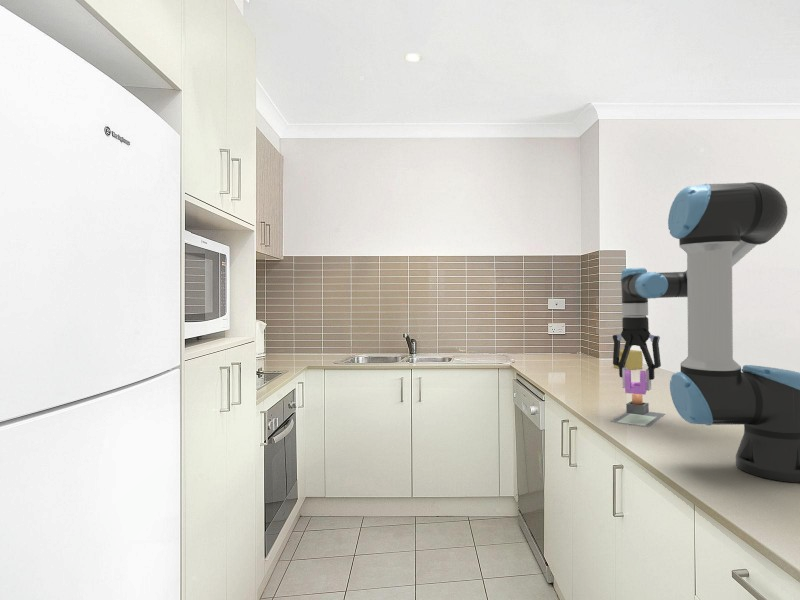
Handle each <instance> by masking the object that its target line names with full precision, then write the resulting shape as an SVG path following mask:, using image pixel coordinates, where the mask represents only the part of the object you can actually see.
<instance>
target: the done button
mask: <svg viewBox="0 0 800 600" xmlns="http://www.w3.org/2000/svg"><path fill="white" fill-rule="evenodd" d="M643 399H644V398H643V394H631V401H632V404H635V405H643V402H644V400H643Z"/></svg>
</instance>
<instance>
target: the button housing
mask: <svg viewBox="0 0 800 600" xmlns="http://www.w3.org/2000/svg"><path fill="white" fill-rule="evenodd" d="M625 405H626V406H625V407H626V412H625V413H632V414H640V415H645V414H646V413H648V412H650V411H649V409H650V408H649V405H650V404H649V402H645V401H643V405H635V404H632V400H631V401H629V402H627V403H626V404H625Z"/></svg>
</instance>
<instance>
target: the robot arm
mask: <svg viewBox="0 0 800 600" xmlns="http://www.w3.org/2000/svg"><path fill="white" fill-rule="evenodd" d="M787 218H788V204H787V202H786V200H785V198H784V195H783V194H782V193H781V192H780V191H779V190H777V189H776V188H775V187H773V186H772V185H770V184H766V183H764V182H763V183H762V182H755V181H753V182H750V181H749V182H733V183H705V184H703V183H702V184H697V185H696V184H695V185H690V186H686V187H684V188H682V189H681V190H680V191H679V192H678V193H677V194H676V196H675V197H674V199H673V201H672V203H671V206H670V209H669V213H668V218H667V226H668V230H669V234H670V235H671V237H672V238H675V239H677V240H678V241H679V243H678V245H679V248H680V249H682V250H683V251H684V252H685V254H686V264H687V265H686V270H685V271H671V272H670V271H669V272H668V271H667V272H656V271H655V272H654V271H652V272H651V271H648V270H647V268H645V267H632V268H623V269H621V274H620V275H621V276H620V282H621V314H622V316H623V317H622V318H621V319H622V320H621V321H622V322H621V323H622V324H621V325H622V326H621V327H622V331H621V333H619V334H614V335H612V340H613V351H612V352H613V354H612V364H613V366H614V365H616V366H618V367H619V368H618V373H619V375H618V376H619V378H622V389H625V370H627V367H624V366H625V363H626V360H627V357H628V354H629V351H630V350H632V347H633V346H636V347H639V348H640V351H642V356H643V358H644V360H645V363H646V365H647V368H646V369H645V371H646V390H647V391H651V390H652V381H653V380H654V379H655V370H656V369H659V368H660V367H661V366H662V363H661V362H662V361H661V356H660V346H659V342H660V339H661V337H660V336H659V335H654V334H651V332H650V331H649V329H650V328H649V327H650V326H649V318H648V317H647V316H648V315H649V299H659V298H662V299H663V298H664V299H665V298H666V299H667V298H669V299H670V298H687V357H686V358H685V359H684V360H683V361H681V362H680V371H677V372H675V373H673V374H672V375H671V376H670V378H671V379H669V391H670V397H671V401H672V403H673V406H674V408H675V410H676V411H677V413H678V415H679V417H681V418H682V420H684V421H686V422H687V423H689V424H693V425H705V426H712V425H716V426H717V425H719V426H720V425H721V426H722V425H723V426H724V425H725V426H726V425H732V426H733V425H736V426H737V425H741V426H742V425H743V430H744V433H743V436H742V438H741V441H740V443H739V446H738V449H737V451H736V454H735V464H736V467H737V468H738V469H739V470H741V471H743V472H745V473H748V474H749V475H754V476H757V477H760V478H764V479H767V480H768V479H769V480H773V481H780V482H789V483H799V484H800V372H799V371H794V370H788V369H783V368H776V367H770V366H761V365H755V364H754V365H753V364H745V365H743V366H741V365H740V364H739V363H738V362H736V360H735V359H734V357H733V356H734V353H733V352H734V351H733V350H734V349H733V347H734V346H733V345H734V344H733V343H734V342H733V340H734V339H733V327H734V326H733V321H734V320H733V266H735V265H736V264H737V263H738V262H740V261H741V260H742V258H744V257H745V256H747V254H749V253H750V252H751V251H752V250H754V248H755V247H756V246H760V245H764V244H766V243H768V242H769V241H771V240H772V239H773V238H774V237H775V236H776V235H777V234H778V233H779V232H780V231H781V229H782V228H783V227H784V225H785V224H786V221H787ZM622 339H623V340H624V341H625V344H624V347H623V350H624V351H623V354H622V357H621V360H620V362H619V355H620V350H621V340H622ZM649 339H650V342H652V343H651V345H652V355H653V359H652V355H651V354H650V351H649V348H648V344H647V342H648V340H649ZM647 391H646V392H647Z"/></svg>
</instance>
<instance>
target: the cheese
mask: <svg viewBox="0 0 800 600" xmlns="http://www.w3.org/2000/svg"><path fill="white" fill-rule="evenodd" d="M623 351H624V349H620V355H619V362H620V360H621V357H622V354H623ZM643 358H644V357H643V352H642V350H633V349H630V351H629V354H628V357H627V360H626V363H625V366H624V367H627V370H631V371H633V370H642V369H643V364H644V361H643ZM613 368H614V369H619V367H618V366H616V365H613Z"/></svg>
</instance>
